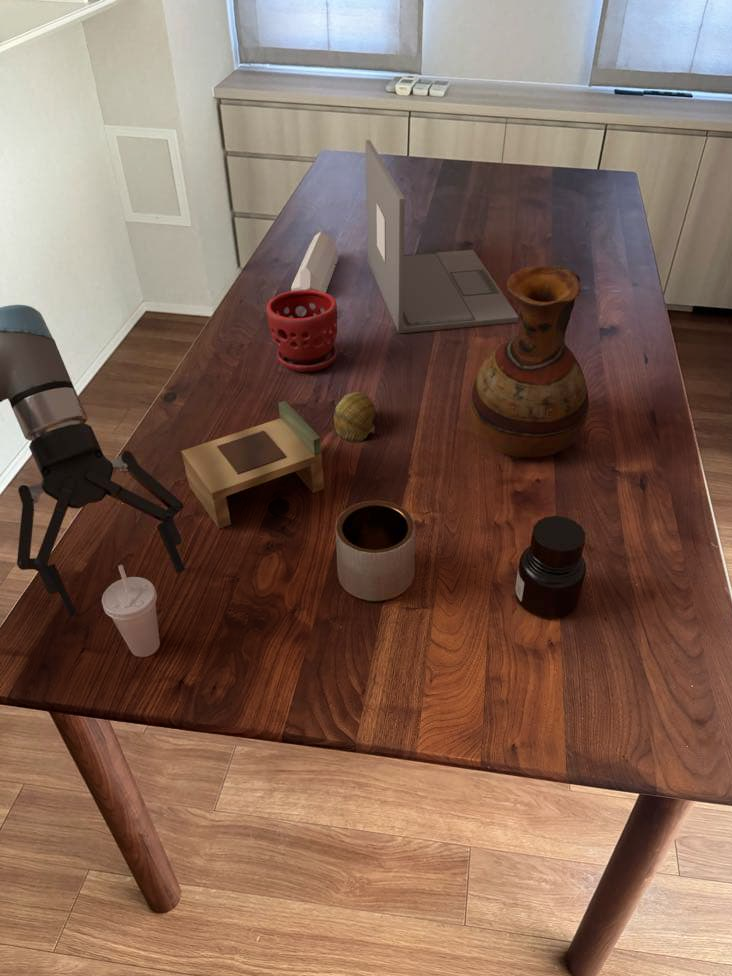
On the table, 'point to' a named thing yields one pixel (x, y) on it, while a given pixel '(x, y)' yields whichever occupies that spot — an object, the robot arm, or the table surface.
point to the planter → (375, 550)
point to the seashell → (354, 417)
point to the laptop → (424, 268)
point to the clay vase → (533, 371)
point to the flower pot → (304, 329)
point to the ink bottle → (552, 568)
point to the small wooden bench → (253, 461)
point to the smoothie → (134, 612)
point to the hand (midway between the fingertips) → (128, 593)
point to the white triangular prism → (317, 265)
